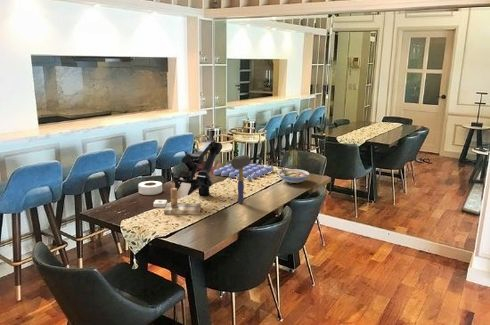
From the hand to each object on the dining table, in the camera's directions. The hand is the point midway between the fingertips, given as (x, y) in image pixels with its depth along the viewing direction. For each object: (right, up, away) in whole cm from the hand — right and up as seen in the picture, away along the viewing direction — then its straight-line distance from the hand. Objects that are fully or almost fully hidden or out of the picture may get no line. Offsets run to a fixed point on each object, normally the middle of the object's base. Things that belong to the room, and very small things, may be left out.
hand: (181, 194), depth 240 cm
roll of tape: (-26, -1, +31) cm, 41 cm away
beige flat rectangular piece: (+2, -9, -5) cm, 11 cm away
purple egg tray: (+36, +9, +79) cm, 87 cm away
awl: (-3, -9, -5) cm, 11 cm away
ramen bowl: (+74, +4, +55) cm, 92 cm away
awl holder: (-13, -7, +4) cm, 16 cm away
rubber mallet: (+35, -6, +9) cm, 37 cm away
